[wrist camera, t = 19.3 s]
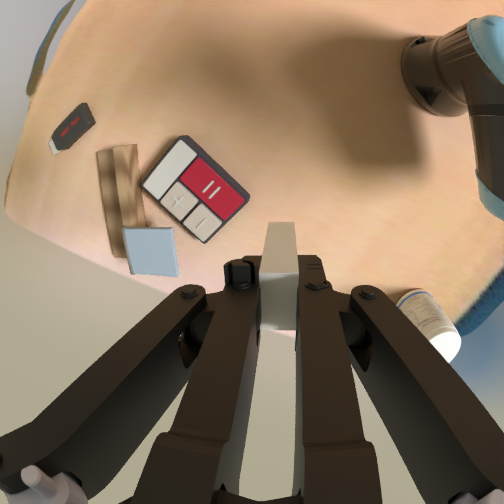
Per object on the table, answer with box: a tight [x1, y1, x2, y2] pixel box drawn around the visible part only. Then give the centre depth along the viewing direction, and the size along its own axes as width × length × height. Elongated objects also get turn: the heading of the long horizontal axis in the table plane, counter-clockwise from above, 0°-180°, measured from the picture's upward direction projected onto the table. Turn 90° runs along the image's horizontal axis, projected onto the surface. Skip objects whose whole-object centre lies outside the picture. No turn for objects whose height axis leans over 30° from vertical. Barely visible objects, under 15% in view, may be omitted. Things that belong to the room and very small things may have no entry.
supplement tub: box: [396, 289, 461, 363], centre depth 44 cm, size 10×10×15 cm
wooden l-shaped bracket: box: [97, 144, 147, 258], centre depth 46 cm, size 21×8×6 cm, turn 2°
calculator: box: [141, 135, 250, 244], centre depth 45 cm, size 11×4×15 cm
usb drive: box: [49, 103, 96, 155], centre depth 43 cm, size 5×12×3 cm, turn 117°
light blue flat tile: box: [121, 226, 180, 277], centre depth 44 cm, size 8×10×1 cm
